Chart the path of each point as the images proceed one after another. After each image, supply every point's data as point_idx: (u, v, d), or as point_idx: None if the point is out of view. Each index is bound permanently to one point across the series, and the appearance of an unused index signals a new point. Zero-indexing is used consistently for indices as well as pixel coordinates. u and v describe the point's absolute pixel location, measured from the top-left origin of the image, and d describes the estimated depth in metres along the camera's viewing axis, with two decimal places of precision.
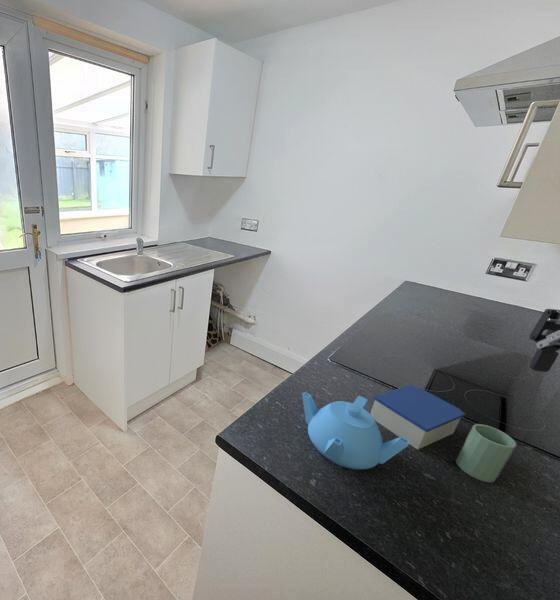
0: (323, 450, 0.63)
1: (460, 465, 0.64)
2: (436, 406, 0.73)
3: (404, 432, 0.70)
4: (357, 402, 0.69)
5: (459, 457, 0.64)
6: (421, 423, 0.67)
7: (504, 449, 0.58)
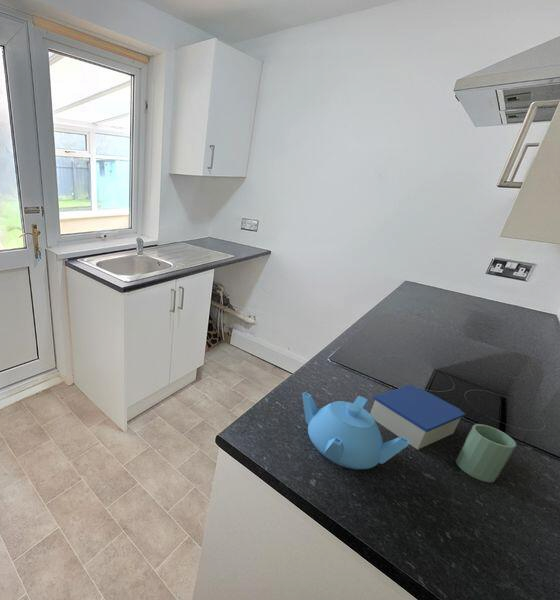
0: (323, 450, 0.63)
1: (460, 465, 0.64)
2: (436, 406, 0.73)
3: (404, 432, 0.70)
4: (357, 402, 0.69)
5: (459, 457, 0.64)
6: (421, 423, 0.67)
7: (504, 449, 0.58)
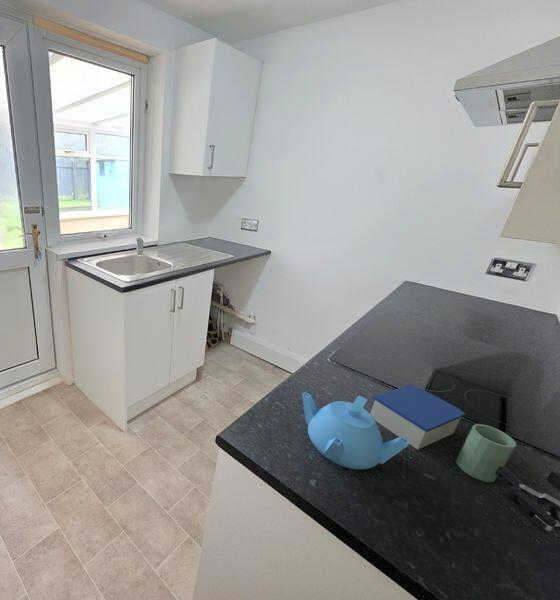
0: (323, 450, 0.63)
1: (460, 465, 0.64)
2: (436, 406, 0.73)
3: (404, 432, 0.70)
4: (357, 402, 0.69)
5: (459, 457, 0.64)
6: (421, 423, 0.67)
7: (504, 449, 0.58)
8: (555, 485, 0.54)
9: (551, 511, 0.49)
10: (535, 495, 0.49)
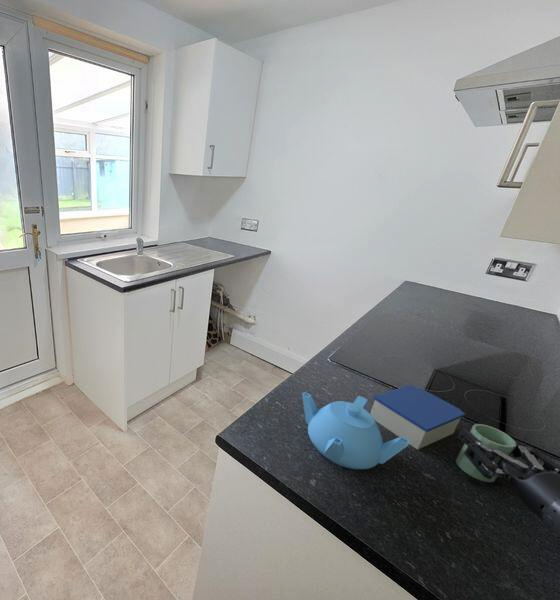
0: (323, 450, 0.63)
1: (460, 465, 0.64)
2: (436, 406, 0.73)
3: (404, 432, 0.70)
4: (357, 402, 0.69)
5: (459, 457, 0.64)
6: (421, 423, 0.67)
7: (504, 449, 0.58)
8: None
9: (498, 464, 0.57)
10: (487, 449, 0.58)
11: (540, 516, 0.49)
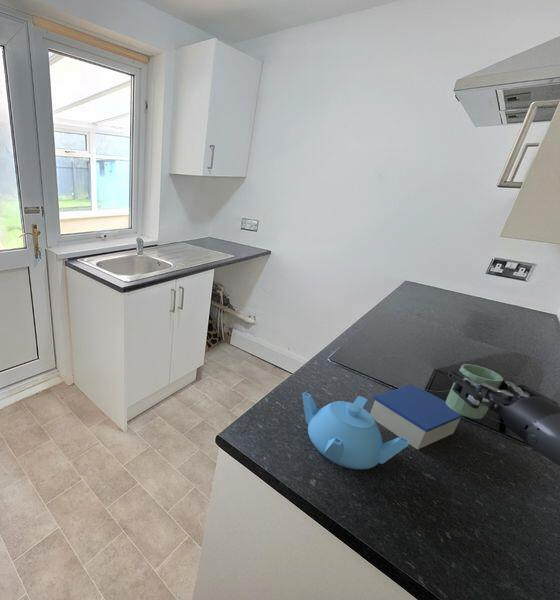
0: (323, 450, 0.63)
1: (449, 405, 0.65)
2: (436, 406, 0.73)
3: (404, 432, 0.70)
4: (357, 402, 0.69)
5: (448, 397, 0.66)
6: (421, 423, 0.67)
7: (491, 383, 0.59)
8: None
9: (485, 397, 0.58)
10: (474, 383, 0.59)
11: (525, 437, 0.50)
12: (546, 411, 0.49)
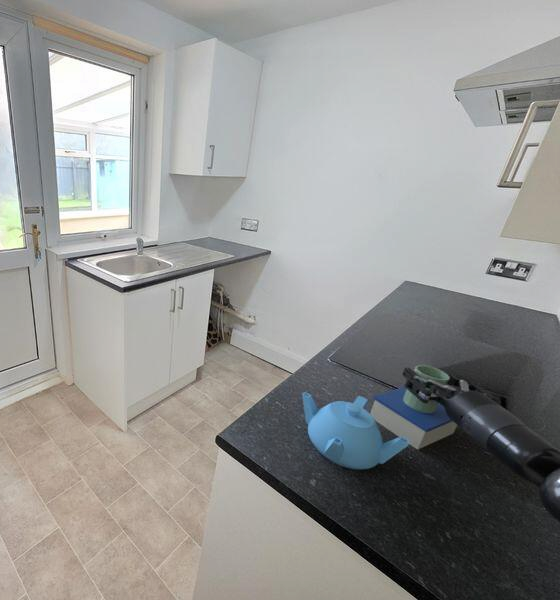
0: (323, 450, 0.63)
1: (406, 401, 0.73)
2: None
3: (404, 432, 0.70)
4: (357, 402, 0.69)
5: (405, 394, 0.74)
6: (421, 423, 0.67)
7: (438, 382, 0.67)
8: None
9: None
10: (424, 381, 0.67)
11: (461, 425, 0.59)
12: (477, 402, 0.57)
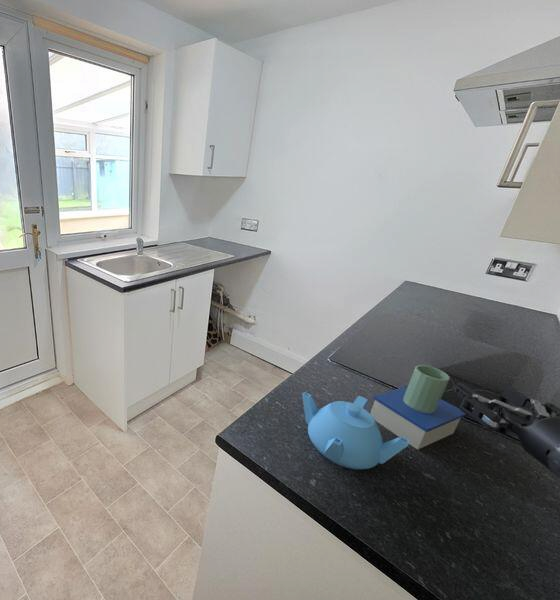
0: (323, 450, 0.63)
1: (406, 401, 0.73)
2: None
3: (404, 432, 0.70)
4: (357, 402, 0.69)
5: (405, 394, 0.74)
6: (421, 423, 0.67)
7: (438, 382, 0.67)
8: (508, 398, 0.57)
9: (500, 414, 0.52)
10: (486, 401, 0.53)
11: (546, 463, 0.45)
12: None
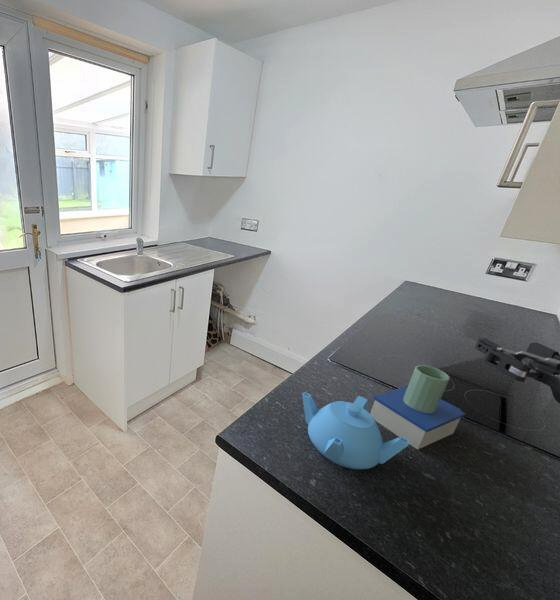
0: (323, 450, 0.63)
1: (406, 401, 0.73)
2: None
3: (404, 432, 0.70)
4: (357, 402, 0.69)
5: (405, 394, 0.74)
6: (421, 423, 0.67)
7: (438, 382, 0.67)
8: (534, 354, 0.54)
9: None
10: (512, 353, 0.50)
11: None
12: None
